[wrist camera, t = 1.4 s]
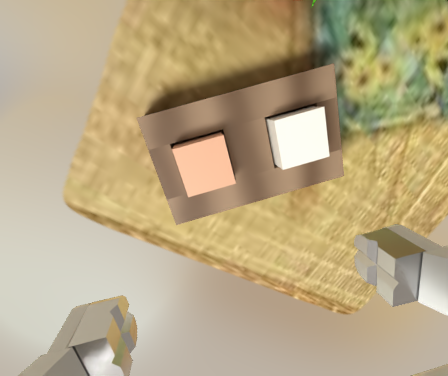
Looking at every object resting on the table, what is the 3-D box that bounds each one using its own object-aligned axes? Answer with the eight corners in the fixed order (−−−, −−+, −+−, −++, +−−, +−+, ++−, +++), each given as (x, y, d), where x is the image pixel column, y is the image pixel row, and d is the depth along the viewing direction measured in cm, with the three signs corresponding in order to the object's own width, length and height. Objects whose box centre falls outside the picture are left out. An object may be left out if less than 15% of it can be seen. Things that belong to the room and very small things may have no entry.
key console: (314, 69, 28) (334, 63, 24) (325, 167, 32) (343, 175, 28) (144, 116, 27) (136, 118, 23) (178, 210, 31) (176, 224, 27)
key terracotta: (220, 131, 26) (223, 135, 23) (231, 175, 27) (235, 183, 25) (174, 144, 25) (172, 149, 23) (188, 188, 27) (188, 197, 24)
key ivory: (310, 106, 26) (324, 106, 23) (316, 151, 28) (329, 156, 25) (265, 119, 26) (274, 120, 23) (274, 163, 27) (283, 169, 25)
